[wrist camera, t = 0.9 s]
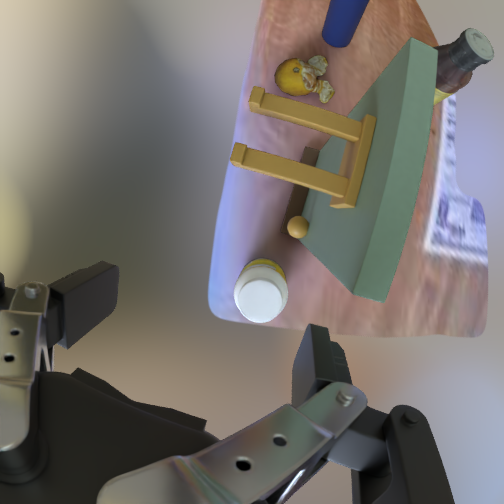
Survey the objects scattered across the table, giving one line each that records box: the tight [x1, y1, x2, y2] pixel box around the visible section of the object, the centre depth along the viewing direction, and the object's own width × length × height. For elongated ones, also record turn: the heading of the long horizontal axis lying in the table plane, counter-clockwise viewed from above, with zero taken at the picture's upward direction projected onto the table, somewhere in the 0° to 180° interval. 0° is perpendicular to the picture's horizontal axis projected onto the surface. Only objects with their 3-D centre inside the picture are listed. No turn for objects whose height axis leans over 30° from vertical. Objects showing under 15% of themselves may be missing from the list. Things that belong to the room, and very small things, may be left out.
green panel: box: [230, 37, 438, 303], centre depth 25 cm, size 11×12×30 cm
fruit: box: [275, 55, 335, 103], centre depth 36 cm, size 8×8×4 cm
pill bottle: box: [234, 258, 288, 323], centre depth 36 cm, size 6×6×11 cm
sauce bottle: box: [432, 28, 494, 105], centre depth 27 cm, size 7×6×20 cm
